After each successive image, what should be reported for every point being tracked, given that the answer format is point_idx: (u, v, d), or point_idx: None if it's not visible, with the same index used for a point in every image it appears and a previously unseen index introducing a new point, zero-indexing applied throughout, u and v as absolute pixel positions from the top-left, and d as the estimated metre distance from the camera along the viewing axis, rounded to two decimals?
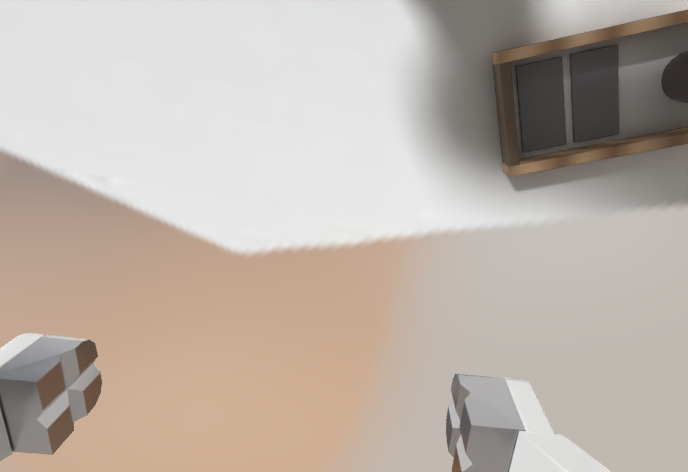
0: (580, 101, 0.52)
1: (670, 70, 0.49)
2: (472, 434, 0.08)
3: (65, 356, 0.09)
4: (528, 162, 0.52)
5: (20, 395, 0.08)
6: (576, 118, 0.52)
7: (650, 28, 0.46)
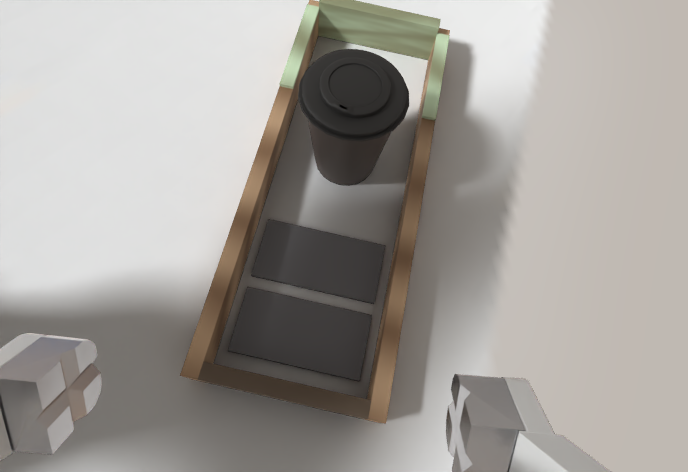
0: (318, 279, 0.35)
1: (327, 172, 0.38)
2: (472, 434, 0.08)
3: (65, 356, 0.09)
4: (374, 383, 0.30)
5: (20, 395, 0.08)
6: (340, 291, 0.35)
7: (260, 180, 0.35)
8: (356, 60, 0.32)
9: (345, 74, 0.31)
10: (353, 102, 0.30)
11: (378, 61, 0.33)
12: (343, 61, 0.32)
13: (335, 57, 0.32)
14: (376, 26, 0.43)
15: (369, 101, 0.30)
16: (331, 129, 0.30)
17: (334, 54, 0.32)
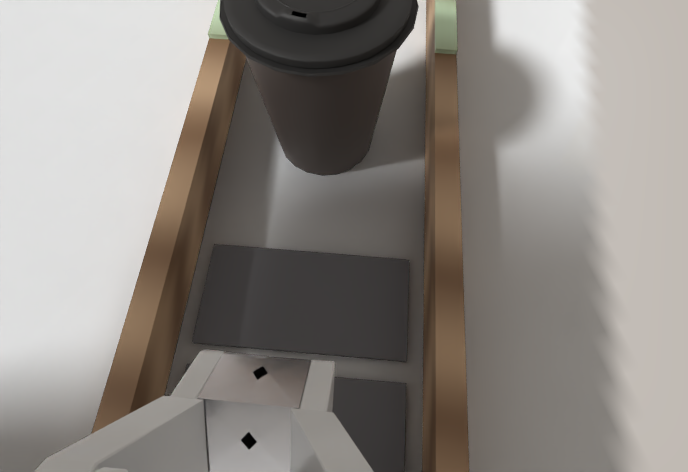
0: (307, 333, 0.21)
1: (299, 157, 0.24)
2: (250, 412, 0.08)
3: (256, 374, 0.09)
4: None
5: (228, 416, 0.08)
6: (346, 348, 0.20)
7: (187, 182, 0.21)
8: None
9: None
10: (317, 6, 0.16)
11: None
12: None
13: None
14: None
15: (346, 1, 0.17)
16: (282, 59, 0.16)
17: None
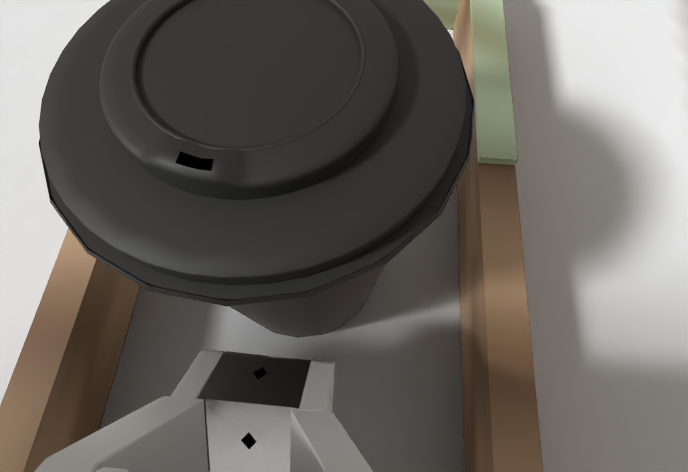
0: None
1: None
2: (250, 412, 0.08)
3: (256, 374, 0.09)
4: None
5: (228, 416, 0.08)
6: None
7: (24, 447, 0.11)
8: None
9: (207, 26, 0.08)
10: (245, 131, 0.07)
11: None
12: None
13: None
14: None
15: (315, 114, 0.07)
16: (161, 269, 0.07)
17: None
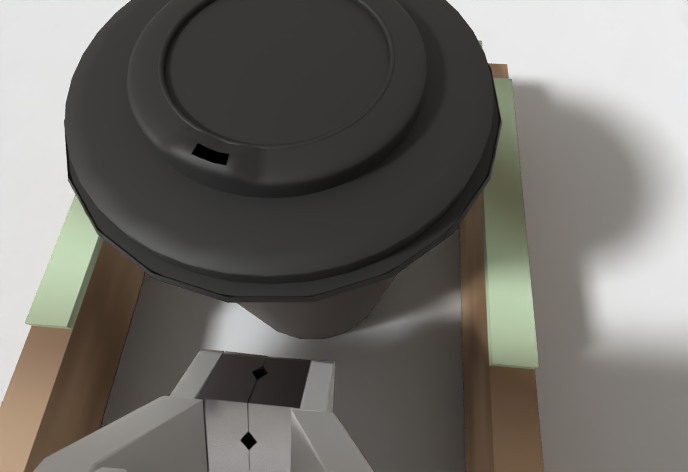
0: None
1: None
2: (250, 412, 0.08)
3: (255, 374, 0.09)
4: None
5: (227, 416, 0.08)
6: None
7: None
8: None
9: (239, 21, 0.08)
10: (265, 129, 0.07)
11: None
12: None
13: None
14: None
15: (337, 118, 0.07)
16: (167, 258, 0.07)
17: None
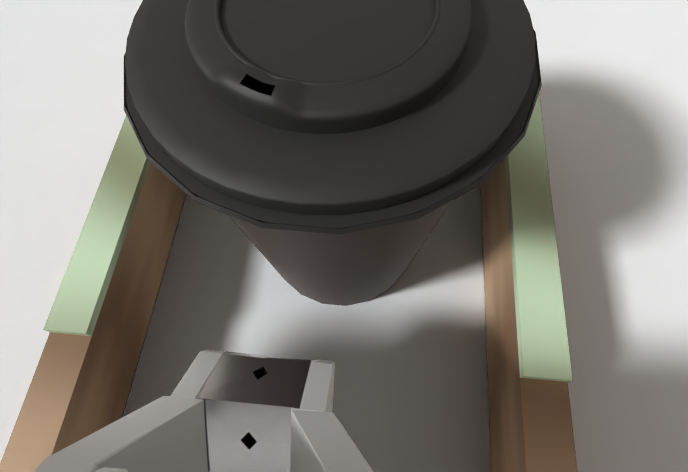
0: None
1: (286, 278, 0.14)
2: (250, 412, 0.08)
3: (256, 374, 0.09)
4: None
5: (228, 416, 0.08)
6: None
7: None
8: None
9: None
10: (309, 67, 0.07)
11: None
12: None
13: None
14: None
15: (379, 62, 0.07)
16: (208, 182, 0.07)
17: None
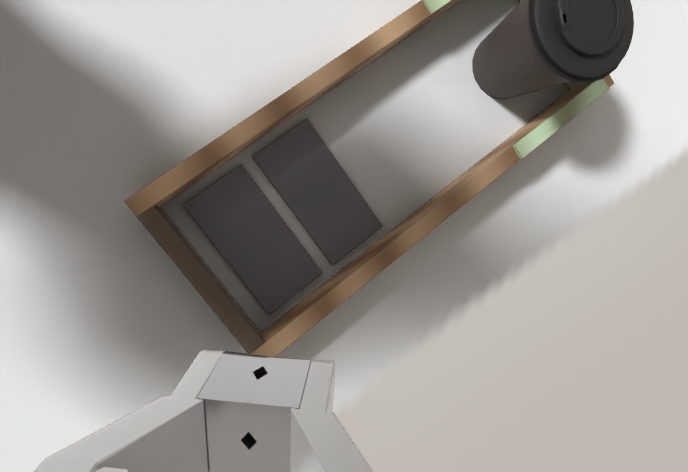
0: (305, 208, 0.33)
1: (480, 59, 0.35)
2: (250, 412, 0.08)
3: (256, 374, 0.09)
4: (277, 331, 0.30)
5: (228, 416, 0.08)
6: (314, 233, 0.33)
7: (327, 82, 0.31)
8: None
9: None
10: (574, 24, 0.27)
11: (627, 18, 0.29)
12: None
13: None
14: None
15: (585, 38, 0.28)
16: (534, 24, 0.28)
17: None
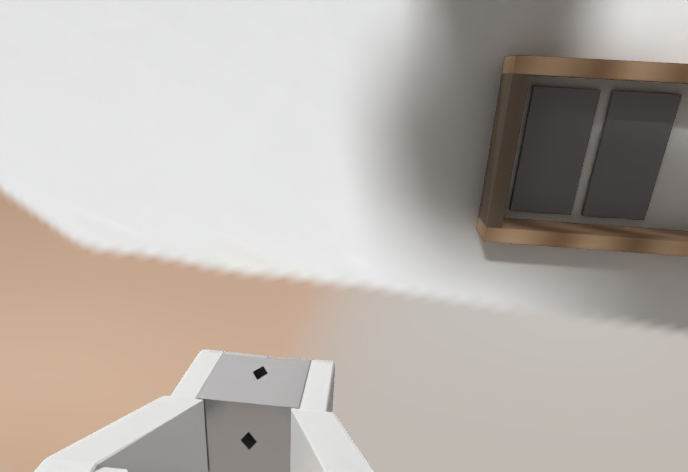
0: (607, 160, 0.35)
1: None
2: (250, 412, 0.08)
3: (256, 374, 0.09)
4: (514, 228, 0.36)
5: (228, 416, 0.08)
6: (594, 183, 0.36)
7: None
8: None
9: None
10: None
11: None
12: None
13: None
14: None
15: None
16: None
17: None
